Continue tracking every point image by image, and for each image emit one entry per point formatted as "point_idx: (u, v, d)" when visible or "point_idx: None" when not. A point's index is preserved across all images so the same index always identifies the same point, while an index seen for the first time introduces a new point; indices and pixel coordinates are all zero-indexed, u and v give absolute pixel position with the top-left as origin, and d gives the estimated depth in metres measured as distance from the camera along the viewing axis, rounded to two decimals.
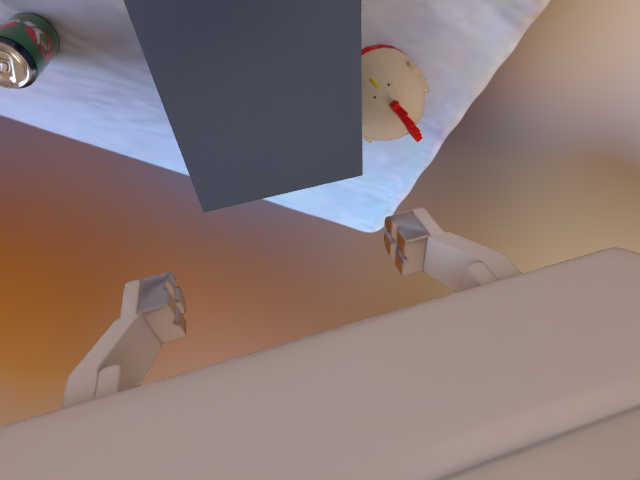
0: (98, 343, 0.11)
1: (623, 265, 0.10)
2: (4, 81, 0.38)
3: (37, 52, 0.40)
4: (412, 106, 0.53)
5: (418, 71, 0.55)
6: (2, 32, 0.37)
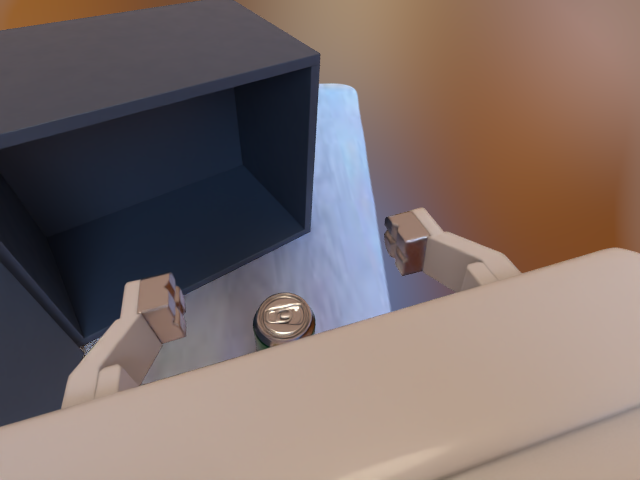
0: (98, 343, 0.11)
1: (623, 265, 0.10)
2: (303, 313, 0.30)
3: None
4: None
5: None
6: (255, 338, 0.31)
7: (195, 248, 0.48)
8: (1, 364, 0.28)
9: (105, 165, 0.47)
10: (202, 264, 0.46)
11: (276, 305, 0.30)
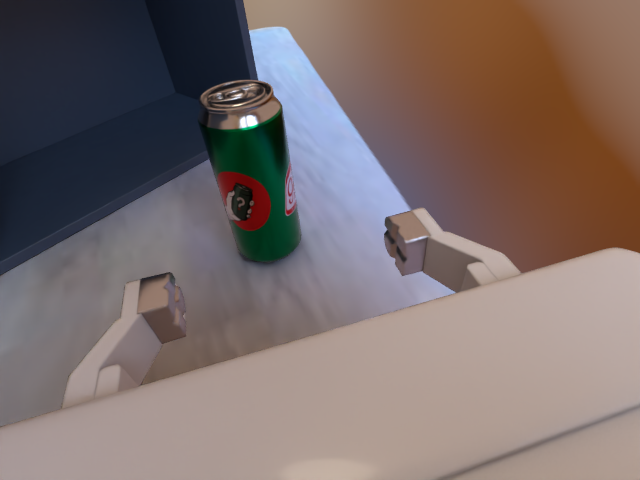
0: (98, 343, 0.11)
1: (623, 265, 0.10)
2: (261, 89, 0.22)
3: None
4: None
5: None
6: (205, 143, 0.22)
7: (131, 161, 0.39)
8: None
9: None
10: (143, 171, 0.38)
11: (223, 89, 0.22)
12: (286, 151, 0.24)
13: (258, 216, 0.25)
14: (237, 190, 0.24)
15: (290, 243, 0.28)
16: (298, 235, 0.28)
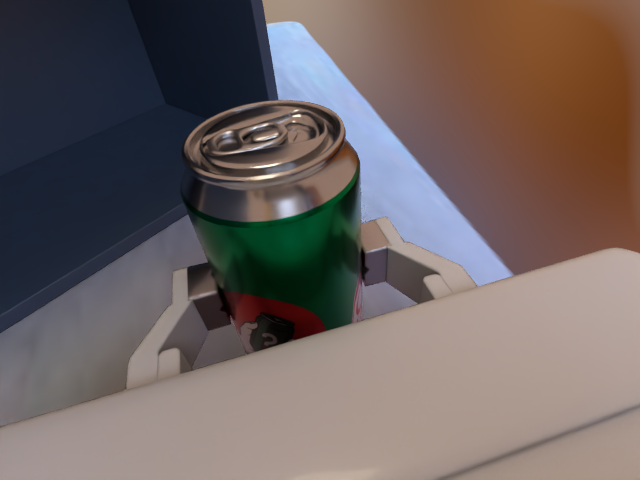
0: (154, 328, 0.11)
1: (622, 265, 0.10)
2: (318, 122, 0.10)
3: None
4: None
5: None
6: (198, 237, 0.11)
7: (98, 207, 0.28)
8: None
9: None
10: (112, 224, 0.26)
11: (235, 123, 0.10)
12: (360, 241, 0.12)
13: None
14: (265, 324, 0.12)
15: None
16: None
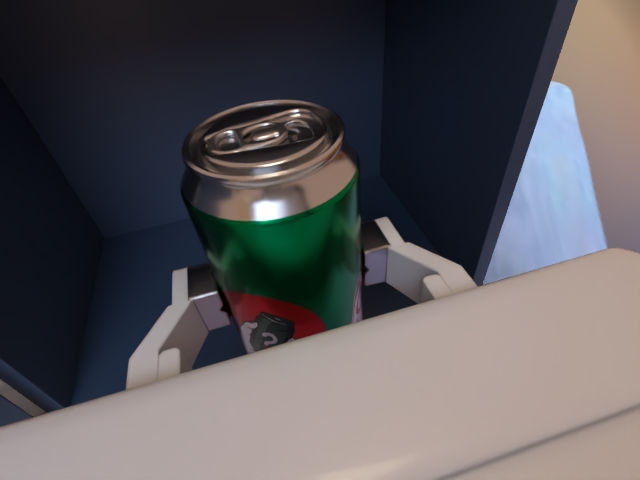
0: (154, 328, 0.11)
1: (622, 265, 0.10)
2: (318, 122, 0.10)
3: None
4: None
5: None
6: (199, 237, 0.11)
7: None
8: None
9: None
10: None
11: (235, 123, 0.10)
12: (360, 241, 0.12)
13: None
14: (265, 323, 0.12)
15: None
16: None
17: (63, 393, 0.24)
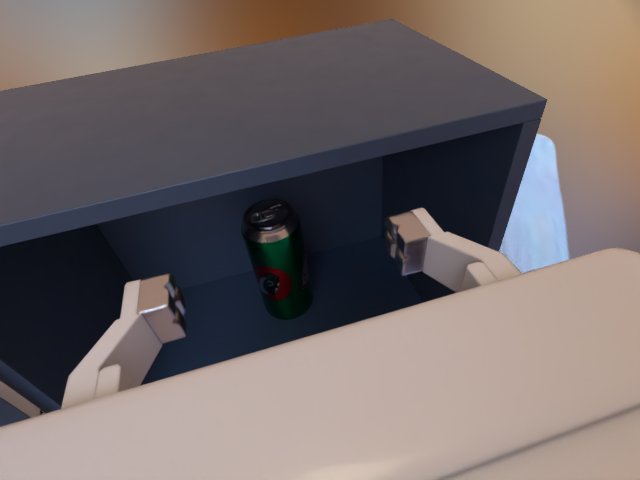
0: (98, 343, 0.11)
1: (622, 265, 0.10)
2: (285, 209, 0.32)
3: None
4: None
5: None
6: (246, 247, 0.32)
7: None
8: None
9: (213, 227, 0.38)
10: None
11: (258, 209, 0.32)
12: (302, 247, 0.33)
13: (283, 292, 0.34)
14: (268, 277, 0.33)
15: (305, 306, 0.37)
16: (311, 299, 0.38)
17: None
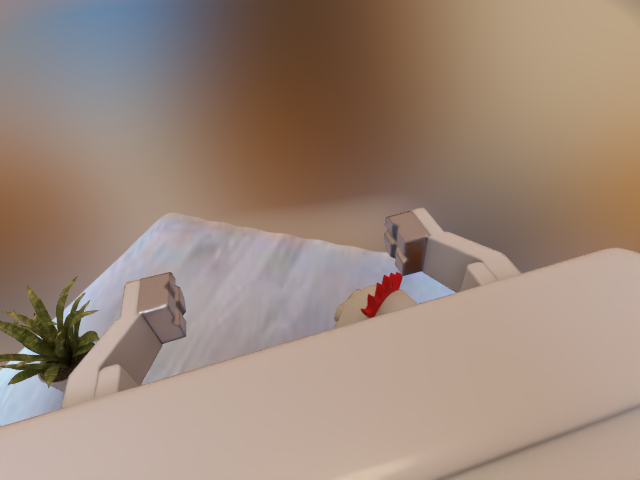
0: (98, 343, 0.11)
1: (622, 265, 0.10)
2: None
3: None
4: (368, 295, 0.48)
5: (340, 305, 0.53)
6: None
7: None
8: None
9: None
10: None
11: None
12: None
13: None
14: None
15: None
16: None
17: None
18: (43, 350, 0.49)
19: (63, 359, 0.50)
